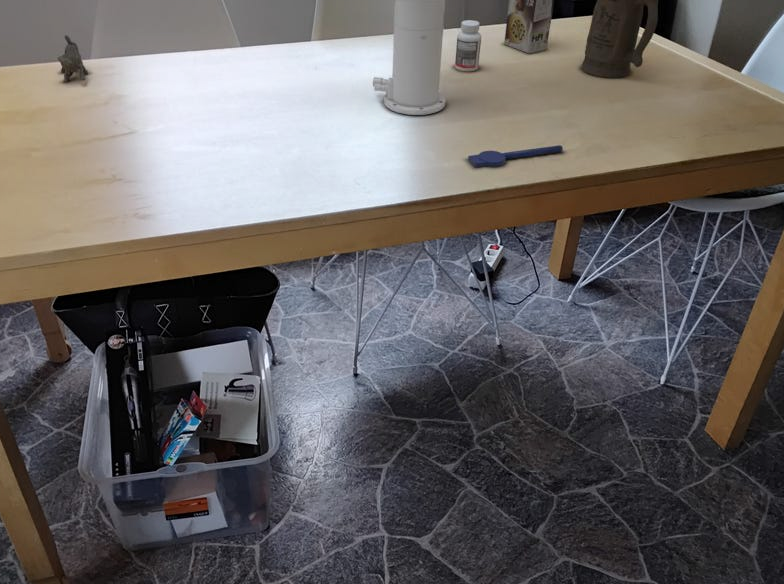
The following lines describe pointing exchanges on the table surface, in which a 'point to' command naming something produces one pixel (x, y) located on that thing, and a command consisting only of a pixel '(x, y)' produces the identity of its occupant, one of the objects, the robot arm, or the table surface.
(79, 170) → the table surface
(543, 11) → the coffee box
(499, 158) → the spoon
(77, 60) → the dog figurine
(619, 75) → the beer stein
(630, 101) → the table surface
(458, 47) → the pill bottle
